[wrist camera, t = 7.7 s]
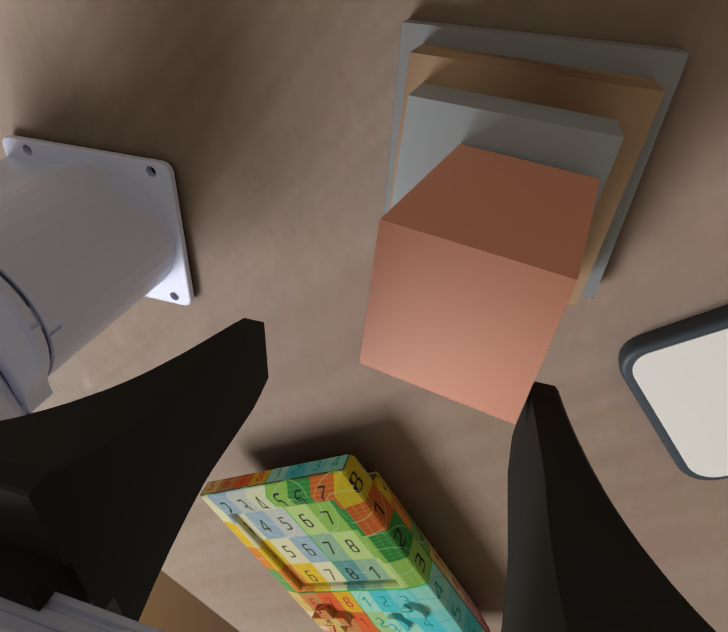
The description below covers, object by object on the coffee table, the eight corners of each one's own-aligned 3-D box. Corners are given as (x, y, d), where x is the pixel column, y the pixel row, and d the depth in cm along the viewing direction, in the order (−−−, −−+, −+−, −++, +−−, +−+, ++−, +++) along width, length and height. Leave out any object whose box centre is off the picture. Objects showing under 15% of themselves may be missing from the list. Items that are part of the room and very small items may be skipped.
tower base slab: (391, 236, 24) (380, 255, 23) (414, 16, 19) (401, 22, 17) (590, 274, 22) (593, 298, 21) (677, 44, 17) (689, 53, 16)
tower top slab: (394, 247, 20) (380, 271, 18) (422, 82, 16) (408, 95, 15) (551, 287, 19) (550, 316, 17) (617, 119, 15) (623, 137, 14)
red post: (434, 260, 18) (359, 362, 13) (460, 143, 15) (380, 219, 11) (551, 298, 16) (515, 424, 12) (600, 178, 14) (577, 280, 10)
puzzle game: (352, 674, 40) (192, 507, 33) (369, 613, 44) (228, 451, 37) (495, 683, 34) (337, 482, 27) (500, 612, 38) (363, 419, 31)
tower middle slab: (394, 239, 22) (382, 260, 20) (422, 43, 18) (409, 52, 16) (574, 279, 21) (576, 306, 19) (654, 78, 16) (665, 91, 15)
